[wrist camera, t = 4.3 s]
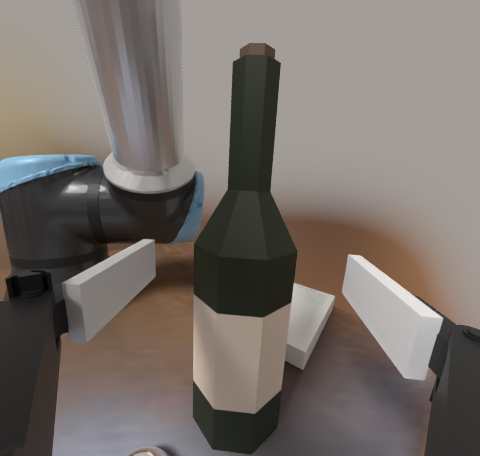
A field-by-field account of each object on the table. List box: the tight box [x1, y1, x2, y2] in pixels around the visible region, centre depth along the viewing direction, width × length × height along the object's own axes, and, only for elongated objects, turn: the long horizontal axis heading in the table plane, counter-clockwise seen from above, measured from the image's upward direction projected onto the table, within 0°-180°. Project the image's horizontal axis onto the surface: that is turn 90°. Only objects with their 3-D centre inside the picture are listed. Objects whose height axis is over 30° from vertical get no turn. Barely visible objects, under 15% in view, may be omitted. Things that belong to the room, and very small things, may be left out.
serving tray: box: [285, 283, 335, 370], centre depth 37 cm, size 18×16×2 cm
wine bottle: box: [193, 43, 297, 454], centre depth 18 cm, size 8×8×30 cm
